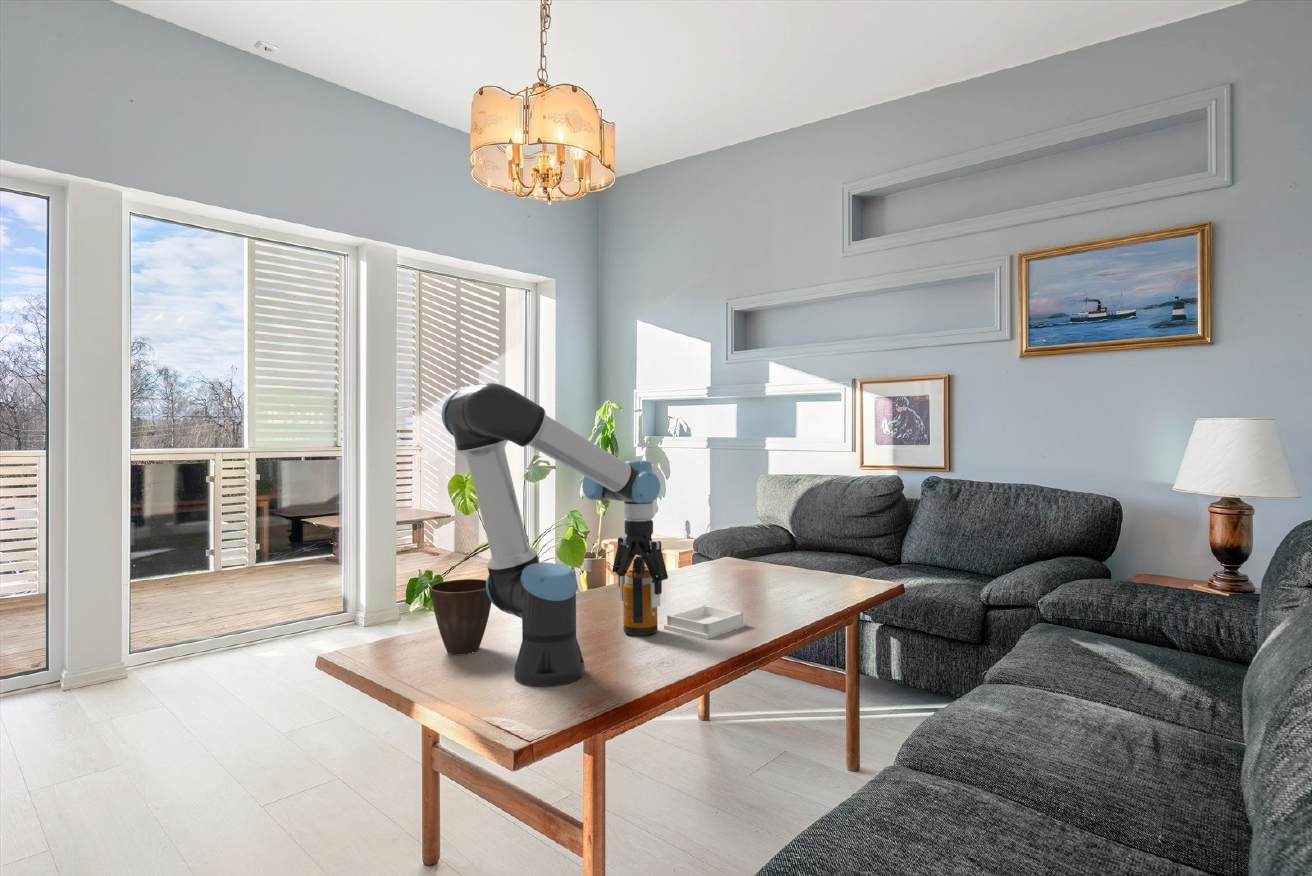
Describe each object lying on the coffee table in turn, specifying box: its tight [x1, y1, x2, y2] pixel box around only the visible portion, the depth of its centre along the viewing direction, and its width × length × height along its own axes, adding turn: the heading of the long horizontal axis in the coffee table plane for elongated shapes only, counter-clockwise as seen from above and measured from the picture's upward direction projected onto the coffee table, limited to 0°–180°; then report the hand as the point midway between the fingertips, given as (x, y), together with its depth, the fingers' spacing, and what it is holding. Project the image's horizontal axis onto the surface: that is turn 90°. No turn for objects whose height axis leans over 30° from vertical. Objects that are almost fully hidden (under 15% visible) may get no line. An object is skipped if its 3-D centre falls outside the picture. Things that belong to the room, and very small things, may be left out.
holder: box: [663, 604, 748, 640], centre depth 191 cm, size 17×15×4 cm
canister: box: [622, 556, 658, 637], centre depth 186 cm, size 9×11×20 cm
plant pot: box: [430, 578, 493, 656], centre depth 173 cm, size 15×15×16 cm
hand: (639, 603), depth 186 cm, fingers open, 11 cm apart
